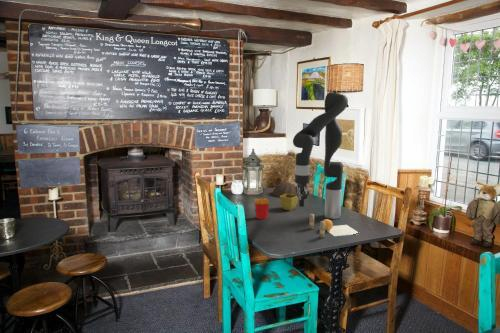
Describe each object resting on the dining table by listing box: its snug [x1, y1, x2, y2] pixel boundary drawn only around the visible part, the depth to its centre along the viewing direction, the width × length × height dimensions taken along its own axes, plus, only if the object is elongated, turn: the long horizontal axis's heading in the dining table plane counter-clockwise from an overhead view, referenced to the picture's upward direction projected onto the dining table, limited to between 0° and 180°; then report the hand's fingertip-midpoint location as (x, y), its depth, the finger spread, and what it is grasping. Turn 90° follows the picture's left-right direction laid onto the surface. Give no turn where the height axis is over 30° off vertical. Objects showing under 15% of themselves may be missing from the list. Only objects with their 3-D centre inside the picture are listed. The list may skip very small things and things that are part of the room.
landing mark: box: [325, 224, 358, 238], centre depth 211 cm, size 15×15×1 cm
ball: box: [322, 218, 334, 231], centre depth 211 cm, size 6×6×6 cm
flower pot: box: [279, 194, 299, 211], centre depth 250 cm, size 9×9×9 cm
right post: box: [319, 220, 326, 239], centre depth 201 cm, size 3×3×8 cm
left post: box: [308, 213, 315, 230], centre depth 214 cm, size 3×3×8 cm
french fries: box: [254, 197, 270, 220], centre depth 232 cm, size 8×4×12 cm, turn 94°
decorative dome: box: [272, 181, 297, 198], centre depth 288 cm, size 19×20×10 cm
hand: (301, 206), depth 203 cm, fingers closed
